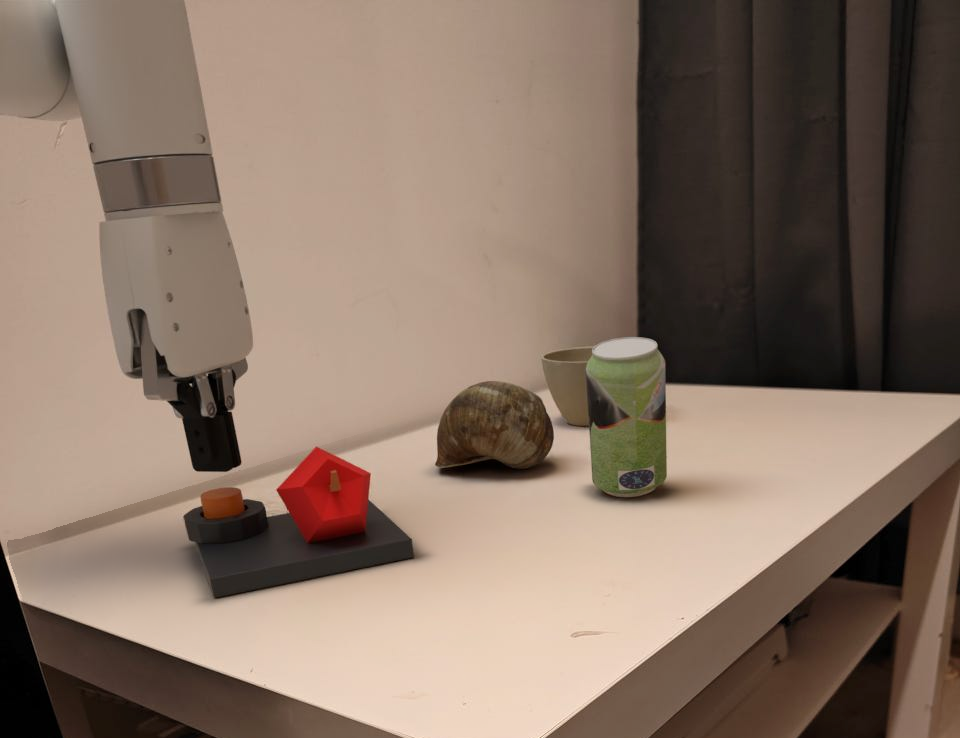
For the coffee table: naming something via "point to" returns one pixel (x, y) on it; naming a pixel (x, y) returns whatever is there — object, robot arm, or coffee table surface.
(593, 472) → the beverage can
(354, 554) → the dark grey flat slab
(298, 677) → the coffee table surface
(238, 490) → the button
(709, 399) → the coffee table surface
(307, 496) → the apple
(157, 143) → the robot arm
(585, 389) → the flower pot
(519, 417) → the seashell
